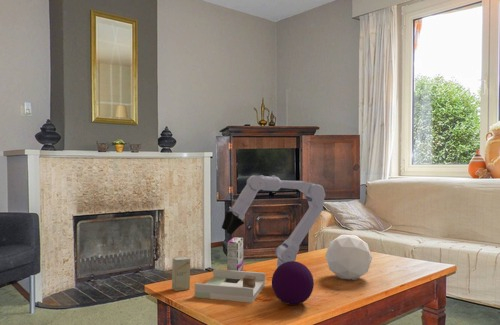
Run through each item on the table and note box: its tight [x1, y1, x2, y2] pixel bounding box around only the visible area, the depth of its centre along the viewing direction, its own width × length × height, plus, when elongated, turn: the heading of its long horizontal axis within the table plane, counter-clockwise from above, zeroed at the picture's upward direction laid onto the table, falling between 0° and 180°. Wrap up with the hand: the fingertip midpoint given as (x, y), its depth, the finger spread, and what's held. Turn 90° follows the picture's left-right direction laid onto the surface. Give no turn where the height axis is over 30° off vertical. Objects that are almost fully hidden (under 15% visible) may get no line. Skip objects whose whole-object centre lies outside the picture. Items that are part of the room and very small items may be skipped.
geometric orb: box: [325, 234, 373, 281], centre depth 183 cm, size 19×20×20 cm
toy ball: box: [271, 260, 315, 306], centre depth 149 cm, size 15×15×15 cm
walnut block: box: [243, 275, 255, 288], centre depth 162 cm, size 4×4×4 cm
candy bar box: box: [226, 236, 244, 271], centre depth 183 cm, size 11×5×16 cm, turn 168°
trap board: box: [194, 268, 266, 304], centre depth 163 cm, size 22×22×5 cm
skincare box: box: [171, 256, 191, 292], centre depth 165 cm, size 6×4×12 cm
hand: (226, 231), depth 167 cm, fingers open, 7 cm apart
